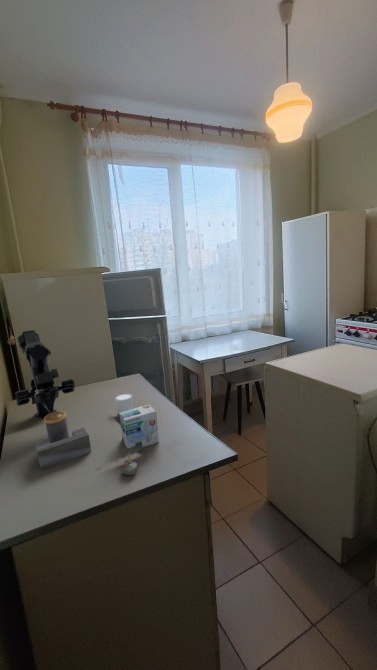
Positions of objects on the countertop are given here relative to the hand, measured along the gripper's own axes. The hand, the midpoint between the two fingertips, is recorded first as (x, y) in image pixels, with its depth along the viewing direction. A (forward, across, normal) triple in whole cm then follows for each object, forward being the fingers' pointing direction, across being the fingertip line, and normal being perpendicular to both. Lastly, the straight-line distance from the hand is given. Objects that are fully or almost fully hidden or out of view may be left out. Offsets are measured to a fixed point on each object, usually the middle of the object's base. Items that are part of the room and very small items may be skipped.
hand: (51, 413), depth 100 cm
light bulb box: (+22, +22, -9) cm, 33 cm away
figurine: (+31, +13, -17) cm, 38 cm away
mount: (+14, 0, -1) cm, 14 cm away
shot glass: (+5, +26, +8) cm, 28 cm away
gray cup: (+11, 0, 0) cm, 11 cm away
